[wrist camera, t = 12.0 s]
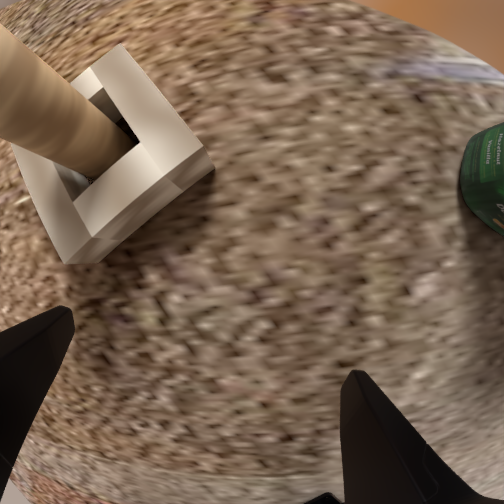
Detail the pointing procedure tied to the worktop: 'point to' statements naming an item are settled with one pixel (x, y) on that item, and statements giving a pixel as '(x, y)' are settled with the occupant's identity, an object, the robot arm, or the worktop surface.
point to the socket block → (115, 165)
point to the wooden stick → (53, 114)
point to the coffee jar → (485, 176)
